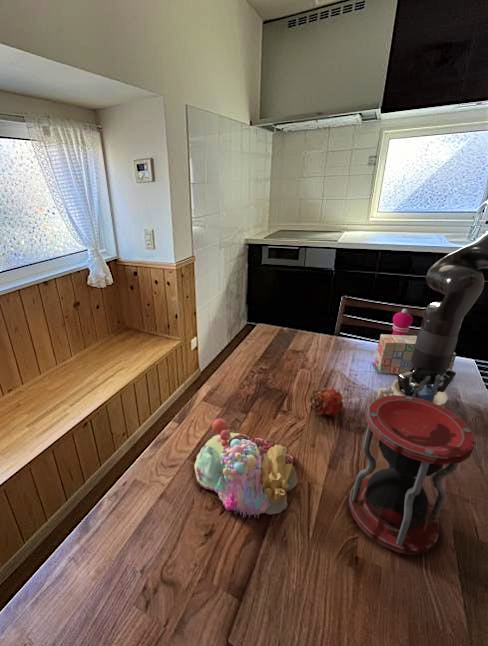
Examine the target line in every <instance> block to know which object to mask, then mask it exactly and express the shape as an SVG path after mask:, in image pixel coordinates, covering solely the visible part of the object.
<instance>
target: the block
mask: <svg viewBox="0 0 488 646" xmlns="http://www.w3.org/2000/svg"><path fill="white" fill-rule="evenodd" d="M413 390H414V387H413V388H412V391H413ZM434 396H435V394H434V393H433V392H432V391H430V390H429V389H428V388H427V387H425V386H424V388H423V390H421V391H419V393H418V394H417V396H416V398H419V399H424V400H426V401H429V402H432V403H433V399H434Z"/></svg>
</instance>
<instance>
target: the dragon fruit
mask: <svg viewBox="0 0 488 646" xmlns="http://www.w3.org/2000/svg"><path fill="white" fill-rule="evenodd" d="M309 403H310V404H311V405H310V409H311V410H313V411H315V415H317V416H319V417H320V416H328V417H332V418H335V417H336V413H337V412H340V411H342V409H343V406H344V402H343V396H342V393H341V392H340V391H337V390H335V389H334V388H330V389H329V388H328V387H325V388H322V389H320V390H313V391H312V396H311V397H310V398H309Z"/></svg>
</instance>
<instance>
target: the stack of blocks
mask: <svg viewBox="0 0 488 646" xmlns="http://www.w3.org/2000/svg"><path fill="white" fill-rule="evenodd" d="M416 339H417V335H408V334H406V335H392V334H383V333H381V334H380V335H379V340H378V344H377V351H376V356H375V360H374V365H375V367H376V368H377V371H378V373H380V374H389V375H397V374H398V373H399V372H402V373H403V374H404V373H406V372H409V369H410V368H411V367H412V360H411V358H412V354H413V350H414V346H415V343H416ZM456 356H457V353H456V352H455V351H454V354H453V357H452V360H451V363H450V366H449V369H451V370H452V371H453V369H454V368H453V367H454V364H455V362H456V361H455V360H456Z"/></svg>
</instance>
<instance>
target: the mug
mask: <svg viewBox="0 0 488 646" xmlns="http://www.w3.org/2000/svg"><path fill="white" fill-rule="evenodd" d="M415 383H416V382H415ZM416 384H417V383H416ZM418 385H419V384H418ZM425 387H426V385H425ZM384 394H388V396H392V395H400V396H406V395H405V394H403V393H402V392H401V391H400V390H399V384H398V378H397V379H394V381H393V382H392V384H391V387H390V388H386V387H385V388H384V387H381V388H380V387H379V388H378V392H377V397H376V399H379V398H381V397H384ZM448 398H449V397H448V394H447V393H446V391H444V392H438V393H437V395H435V396H434V399H433V403H434V404H437V405H439V406H441V407H443V408H445V409H446V406H447V404H448V400H449V399H448Z"/></svg>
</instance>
